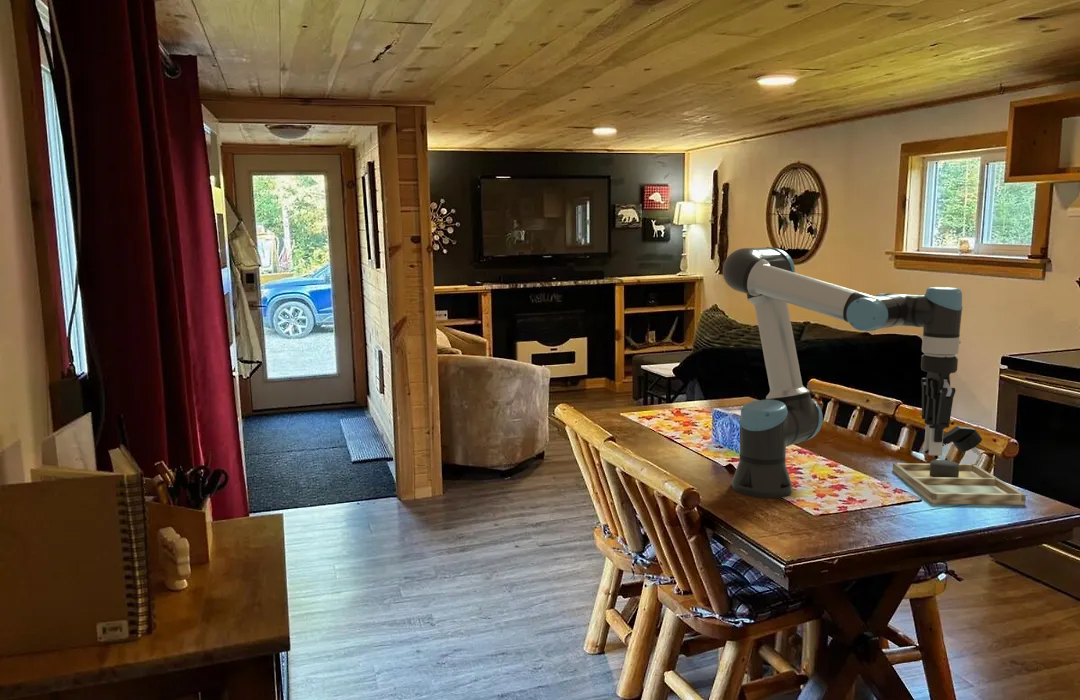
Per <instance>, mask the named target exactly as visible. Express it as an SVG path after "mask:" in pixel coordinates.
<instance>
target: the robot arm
mask: <svg viewBox="0 0 1080 700" xmlns="http://www.w3.org/2000/svg"><path fill="white" fill-rule="evenodd" d="M722 275H723V279H724V282H725V283H726V285H728V286H729V288H731V289H732V290H734V291H736V292H739V293H743V294H746V298H747V301H748V302H750V303H751V304H752V305H753V306H754V311H755V314H756V315H755V316H756V320H757V321H756V322H757V327H758V331H759V337H760V342H761V347H762V352H763V353H762V354H763V359H764V366H765V370H766V375H767V379H768V386H769V392H768V394H767V395H766V396H765V399H761V400H753V401H750V402H747V403H745V404H744V405H743V406H742V407H741V409H740V417H739V460H738V461H739V462H738V464H737V466H736V469H735V471H734V475H733V478H732V481H731V488H732V489H733V491H734V492H736V493H738V494H741V495H744V496H746V497H751V498H755V499H765V500H766V499H767V500H768V499H769V500H770V499H780V498H785V497H788V496H790V495H791V494H792V492H793V491H792V490H793V489H792V487H793V485H792V481H791V478H790V475H789V471H788V468H787V465H786V456H787V455H786V451H787V447H790V446H792V445H795V444H798V443H799V444H800V443H804V442H807V441H809V440H810V439H812V438H814V437H815V436H817V434H819V432H820V430H821V429H822V427H823V426H822V425H823V421H824V420H823V419H824V417H823V412H822V408H821V407H820V405H819V404H818V403H817V402H816V401H815V400H813V398H812V396H811V391H810V389H808V388H806V387H805V386H804V385H803V380H802V376H801V371H800V364H799V359H798V353H797V347H796V342H795V337H794V332H793V326H792V322H791V317H790V311H789V305H788V304H791V305H793V306H797V307H799V308H803V309H807V310H808V311H812V312H815V313H819V314H820V315H823V316H824V315H825V316H828V317H830V318H833V319H836V320H840V321H843V322H845V323H849V325H850V326H851V327H852V328H854V329H855V330H857V331H861V332H873V331H876V330H880V329H885V328H886V329H887V328H893V327H894V328H895V327H899V326H902V327H914V328H915V327H916V328H922V329H923V330H922V333H923V334H922V338H921V339H922V341H921V342H922V343H921V352H922V353H923V354H922V355H921V357H920V359H921V360H920V361H921V362H920V368H921V371H924V372H927V374H926V377H921V379H920V384H921V420H924V424H925V430H924V431H925V432H924V446H923V452H924V453H925V451H926V450H928V449H929V453H928V455H929V456H943V447H944V446H943V445H944V444H943V435H944V430H945V429H948V428H950V421H951V418H952V417H951V416H952V408H953V402H954V396H955V394H956V388H955V387H951V379H950V378H951V377H950V375H951V374H955V373H956V372H957V371H958V363H959V357H958V356H957V355H958V354H959V348H960V347H959V346H960V344H961V343H962V342H961V340H960V336H961V335H960V333H961V324H962V323H961V321H962V312H963V292H962V290H961V289H959V288H958V287H947V286H944V287H942V286H934V287H933V286H932V287H928V288H927V289H926V290H925V294H923V295H921V294H919V295H918V294H907V293H906V294H904V293H895V292H883V293H881V292H880V293H878V294H876V295H875V296H874V295H872V294H868V293H865V292H860V291H859V290H856V289H855V290H854V289H852V288H847V287H845V286H841V285H838V284H835V283H832V282H831V283H830V282H827V281H824V280H820V279H817V278H814V277H811V276H806V275H804V274H801V273H797V272H796V267H795V263H794V261H793V259H792V256H790V254H788V253H787V252H786V251H784V249H780V248H776V247H771V246H770V247H769V246H766V247H751V248H749V247H746V248H745V247H743V248H739V249H736V250H734V251H733V252H731V253H730V254H729V255H728V256H727V257H726V259H725V260H724V263H723V266H722Z"/></svg>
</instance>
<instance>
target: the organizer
mask: <svg viewBox="0 0 1080 700" xmlns="http://www.w3.org/2000/svg"><path fill="white" fill-rule="evenodd" d="M958 464H959V477H958V478H954V477H932V476H930V463H916V462H915V463H908V462H907V463H902V462H901V463H900V462H896V463H894V462H893V463H892V472H894V473H895V474H896V475H897V476H899V478H901V479H902V480H903V481H904V482H906V483H907V484H908V485H909V486H910V487H911V488H913V489H914V490H915V491H916V492H918V494H920V495H921V496H922V497H924V498H925V499H926V500H927V501H929V502H930V503H931V504H940V505H941V504H942V505H943V504H945V505H946V504H947V505H949V504H950V505H1000V506H1001V505H1007V506H1008V505H1009V506H1011V505H1013V506H1014V505H1019V506H1020V505H1021V506H1025V505H1026V500H1027V498H1026V497H1027V495H1026V494H1025V493H1023V492H1021V491H1020V490H1019V489H1017V488H1015V487H1013V486H1011V485H1010V484H1008V483H1007V482H1005V481H1003V480H1001V479H1000V478H998V477H997V476H995V475H993V474H991V473H990V472H989V471H987V470H985V469H984V468H982V467H980V466H979V465H978V464H974V463H958Z"/></svg>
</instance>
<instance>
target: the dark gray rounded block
mask: <svg viewBox="0 0 1080 700" xmlns="http://www.w3.org/2000/svg"><path fill="white" fill-rule="evenodd" d="M929 464H930V476H932V477H954V478H958V477H959V464H960V463H958V462H957V461H952V460H945V459H934V460H933V459H932V460H931V461H929Z"/></svg>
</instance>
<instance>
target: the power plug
mask: <svg viewBox="0 0 1080 700" xmlns="http://www.w3.org/2000/svg"><path fill="white" fill-rule="evenodd" d="M982 440H983V437H982V436H981V435H980V434H979V432H978V430H976V429H975V428H973V427H971V426H970V427H969V426H967V427H966V426H960V425H956V426H954V427H953V428H952V429H950V430H949V431H947V432H946V433H944V434H943V446H942V447H945V446H947V445H949V444H952V443H953V445H954V446H955V447H956V449H957V450H958V451H959V452H962V453H964V452H968V451H970V450H971V451H972V452H973V453H974V454H975V453H976V456H981V455H982V454H981V452H980V451H979V449H978V448H977V446H978V445H980V443H981V442H982ZM924 454H925V455H927V454H929V449H928V450H926V451H925V452H924Z"/></svg>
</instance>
